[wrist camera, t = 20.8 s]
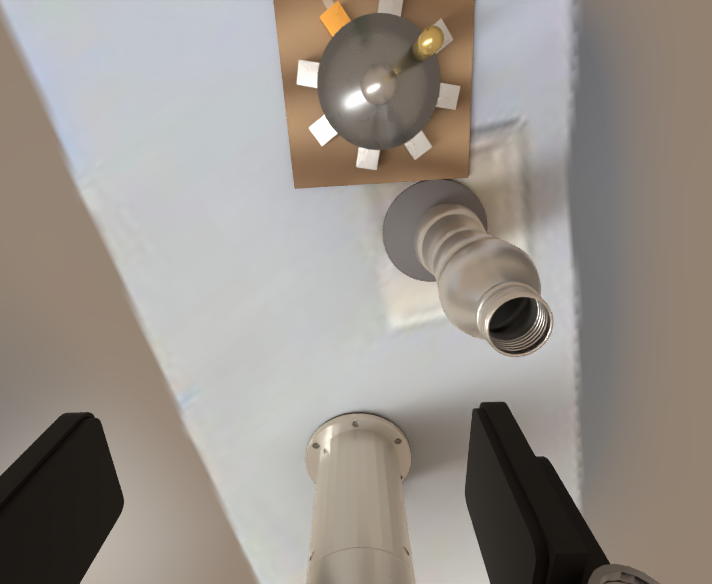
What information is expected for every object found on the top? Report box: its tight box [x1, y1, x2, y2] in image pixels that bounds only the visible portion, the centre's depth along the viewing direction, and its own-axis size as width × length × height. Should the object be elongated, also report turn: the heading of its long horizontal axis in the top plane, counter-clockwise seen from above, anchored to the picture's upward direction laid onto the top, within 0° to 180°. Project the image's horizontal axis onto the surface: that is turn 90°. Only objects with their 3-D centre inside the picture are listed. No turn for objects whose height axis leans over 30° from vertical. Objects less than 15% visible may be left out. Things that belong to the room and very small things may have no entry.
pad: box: [383, 179, 487, 282], centre depth 41 cm, size 10×10×1 cm
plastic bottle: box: [413, 204, 553, 357], centre depth 32 cm, size 6×7×20 cm
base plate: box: [274, 0, 474, 189], centre depth 36 cm, size 16×16×1 cm
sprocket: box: [297, 0, 460, 170], centre depth 33 cm, size 13×13×6 cm
